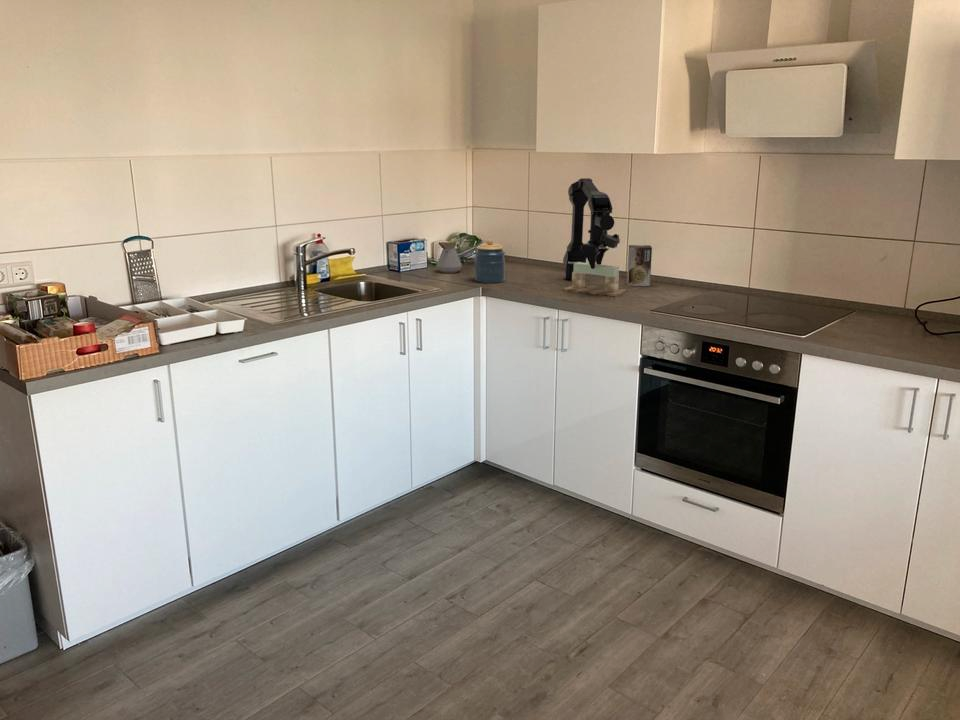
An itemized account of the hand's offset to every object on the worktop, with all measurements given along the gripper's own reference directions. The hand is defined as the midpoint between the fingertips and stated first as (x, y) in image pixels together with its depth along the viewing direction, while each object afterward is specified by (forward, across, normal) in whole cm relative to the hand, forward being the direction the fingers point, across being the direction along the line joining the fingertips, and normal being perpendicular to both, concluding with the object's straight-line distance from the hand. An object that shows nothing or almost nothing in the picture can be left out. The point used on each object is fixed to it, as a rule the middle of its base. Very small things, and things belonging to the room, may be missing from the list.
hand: (595, 267), depth 300 cm
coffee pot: (+10, +4, +72) cm, 73 cm away
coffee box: (+10, +23, -10) cm, 27 cm away
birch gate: (+10, 0, 0) cm, 10 cm away
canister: (+10, -1, +47) cm, 48 cm away
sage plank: (+2, 0, 0) cm, 3 cm away
